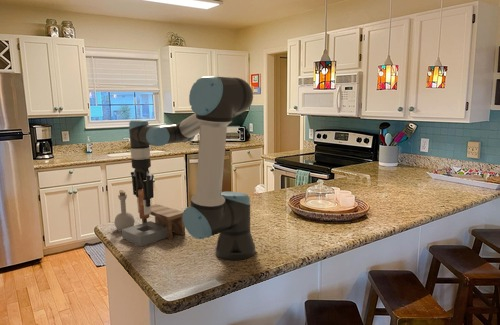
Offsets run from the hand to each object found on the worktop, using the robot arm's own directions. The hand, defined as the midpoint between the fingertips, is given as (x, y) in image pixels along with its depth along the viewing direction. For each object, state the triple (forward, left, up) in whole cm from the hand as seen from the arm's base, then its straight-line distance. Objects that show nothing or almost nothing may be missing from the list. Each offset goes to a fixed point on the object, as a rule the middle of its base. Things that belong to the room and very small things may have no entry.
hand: (144, 212), depth 154 cm
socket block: (0, 0, -11) cm, 11 cm away
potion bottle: (+17, 0, -11) cm, 20 cm away
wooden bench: (0, -9, -11) cm, 14 cm away
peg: (0, 0, -2) cm, 2 cm away
